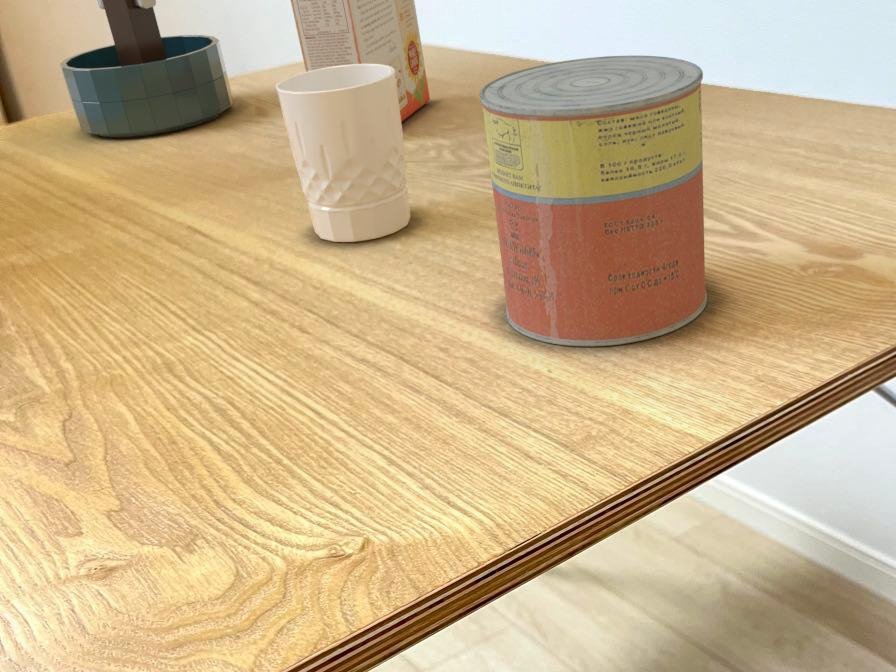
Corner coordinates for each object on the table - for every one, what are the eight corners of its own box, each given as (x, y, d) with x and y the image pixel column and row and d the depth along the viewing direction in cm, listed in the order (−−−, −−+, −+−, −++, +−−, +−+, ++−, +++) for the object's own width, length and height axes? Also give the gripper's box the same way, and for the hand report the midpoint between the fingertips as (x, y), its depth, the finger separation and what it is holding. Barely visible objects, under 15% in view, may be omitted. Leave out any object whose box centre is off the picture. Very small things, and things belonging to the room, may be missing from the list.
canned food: (694, 259, 69) (689, 46, 62) (719, 335, 59) (716, 95, 53) (508, 277, 69) (483, 68, 63) (504, 355, 60) (474, 120, 53)
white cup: (319, 213, 84) (289, 70, 78) (425, 204, 83) (402, 58, 78) (296, 250, 77) (262, 97, 72) (411, 241, 77) (385, 85, 71)
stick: (134, 114, 115) (90, -40, 107) (157, 106, 117) (115, -45, 110) (157, 115, 114) (114, -41, 106) (179, 107, 116) (139, -46, 108)
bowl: (49, 137, 114) (26, 68, 110) (158, 98, 125) (141, 34, 121) (158, 143, 107) (138, 70, 104) (264, 102, 118) (249, 34, 114)
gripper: (-22, -148, 105) (30, 15, 113) (136, -166, 96) (181, 13, 103) (33, -154, 109) (79, 3, 117) (189, -172, 100) (228, -1, 108)
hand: (128, 8), depth 110 cm, fingers closed on stick, 3 cm apart
